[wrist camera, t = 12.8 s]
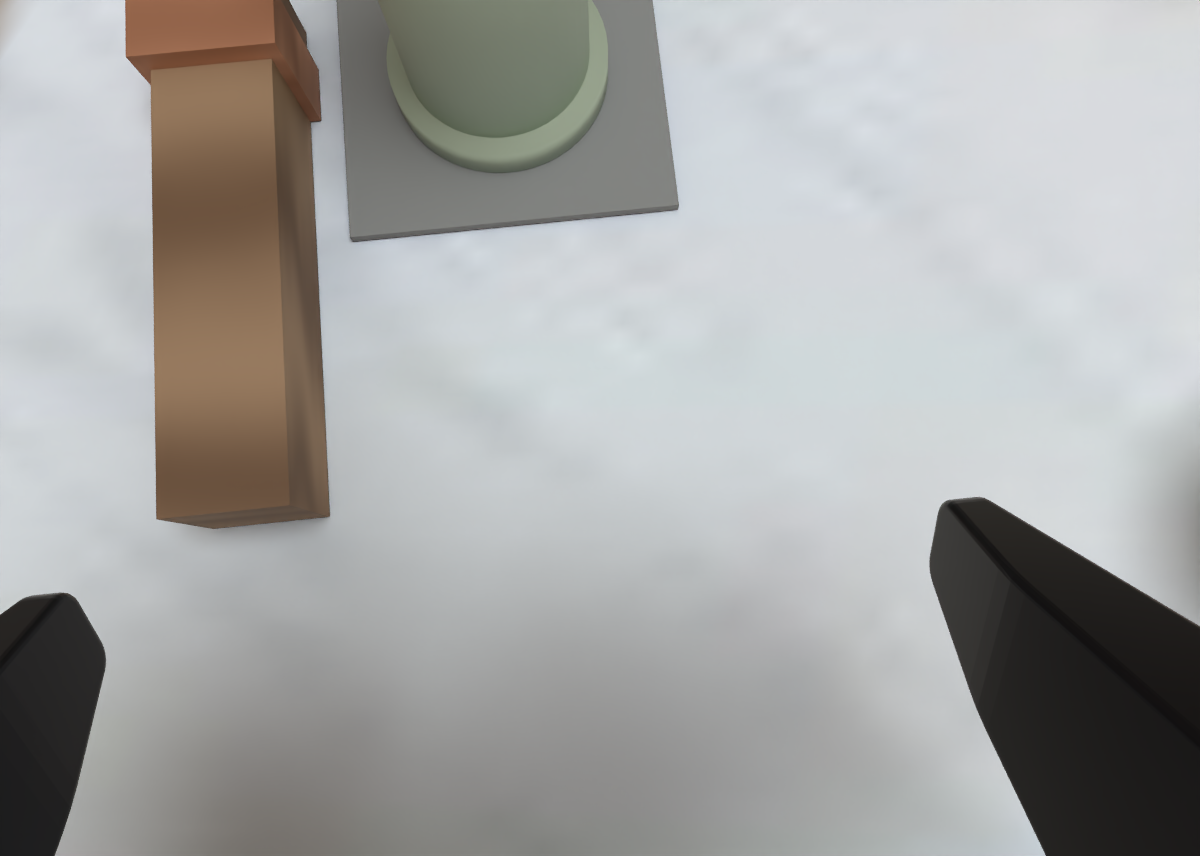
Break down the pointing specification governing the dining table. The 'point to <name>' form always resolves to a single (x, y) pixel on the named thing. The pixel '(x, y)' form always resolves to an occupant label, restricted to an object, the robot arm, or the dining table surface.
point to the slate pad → (487, 200)
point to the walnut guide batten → (233, 261)
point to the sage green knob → (497, 77)
